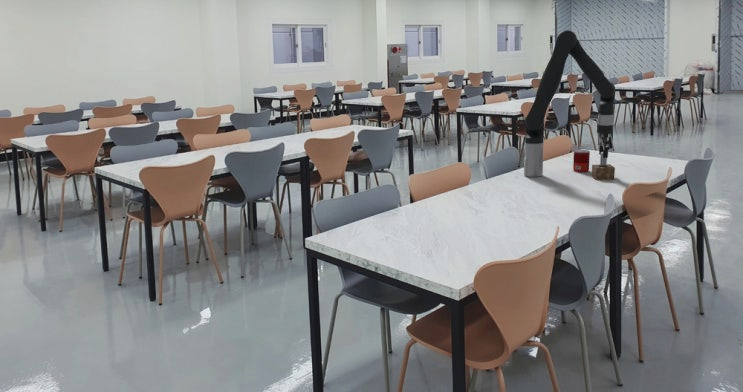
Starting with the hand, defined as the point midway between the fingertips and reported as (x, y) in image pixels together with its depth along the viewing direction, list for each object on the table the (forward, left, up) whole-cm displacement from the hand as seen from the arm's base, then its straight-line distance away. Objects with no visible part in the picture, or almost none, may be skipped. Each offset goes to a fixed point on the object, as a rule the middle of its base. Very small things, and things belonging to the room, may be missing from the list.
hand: (603, 156), depth 323 cm
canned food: (-7, +18, -11) cm, 23 cm away
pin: (0, 0, -10) cm, 10 cm away
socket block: (0, 0, -11) cm, 11 cm away
